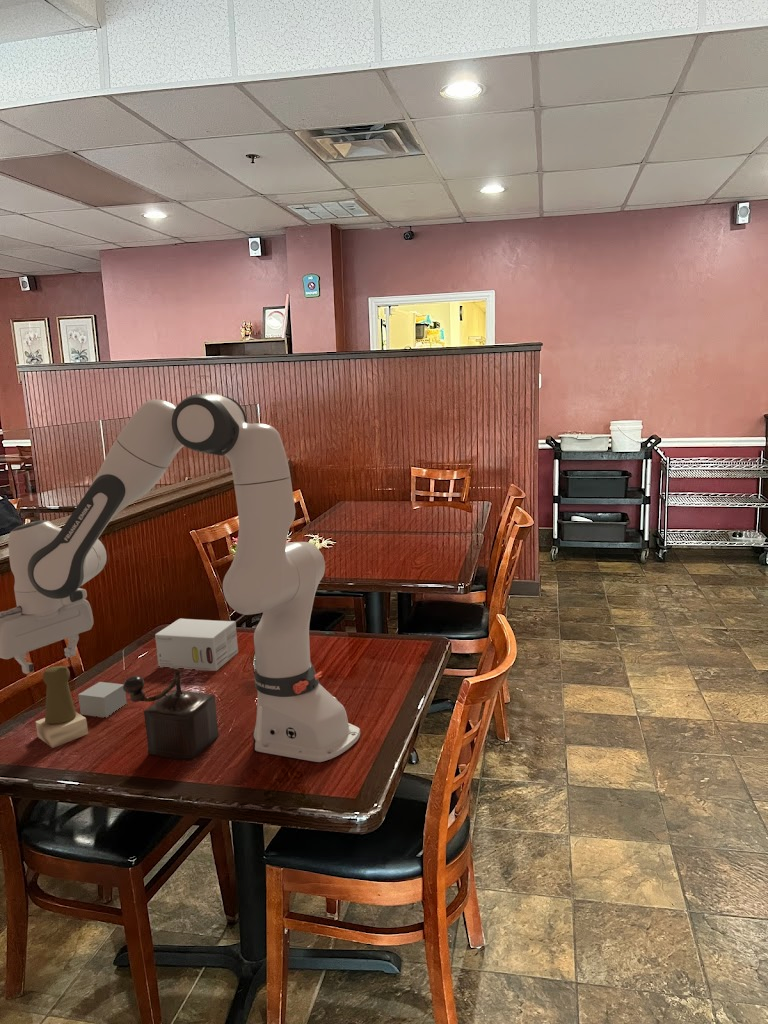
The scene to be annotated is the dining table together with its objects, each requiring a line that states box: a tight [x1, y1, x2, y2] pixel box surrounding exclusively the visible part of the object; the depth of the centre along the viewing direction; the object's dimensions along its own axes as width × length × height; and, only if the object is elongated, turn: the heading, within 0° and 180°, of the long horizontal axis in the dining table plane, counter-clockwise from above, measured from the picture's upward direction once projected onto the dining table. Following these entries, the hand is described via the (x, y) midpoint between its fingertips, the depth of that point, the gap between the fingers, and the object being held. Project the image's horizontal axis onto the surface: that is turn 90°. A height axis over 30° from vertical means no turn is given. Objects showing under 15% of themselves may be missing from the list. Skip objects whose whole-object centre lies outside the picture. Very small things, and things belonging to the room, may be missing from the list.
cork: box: [42, 665, 77, 724], centre depth 152 cm, size 6×6×11 cm
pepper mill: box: [123, 668, 220, 761], centre depth 142 cm, size 16×11×18 cm
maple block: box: [35, 710, 89, 749], centre depth 152 cm, size 8×8×4 cm
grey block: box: [77, 681, 128, 719], centre depth 164 cm, size 7×7×5 cm
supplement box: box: [154, 618, 239, 672], centre depth 190 cm, size 17×13×9 cm
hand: (50, 664), depth 149 cm, fingers open, 8 cm apart
